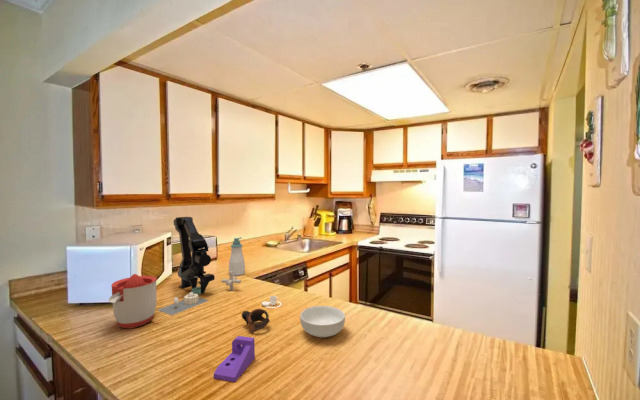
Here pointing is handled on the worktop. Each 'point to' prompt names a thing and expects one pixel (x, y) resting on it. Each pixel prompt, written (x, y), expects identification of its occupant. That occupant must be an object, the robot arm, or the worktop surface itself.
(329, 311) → the cereal bowl
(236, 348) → the bracket
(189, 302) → the cream gear
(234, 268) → the soap bottle
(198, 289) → the teal gear
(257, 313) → the pottery mug
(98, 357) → the worktop surface
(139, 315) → the citrus juicer
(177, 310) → the gear board
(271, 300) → the teacup and saucer
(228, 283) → the pipe connector
